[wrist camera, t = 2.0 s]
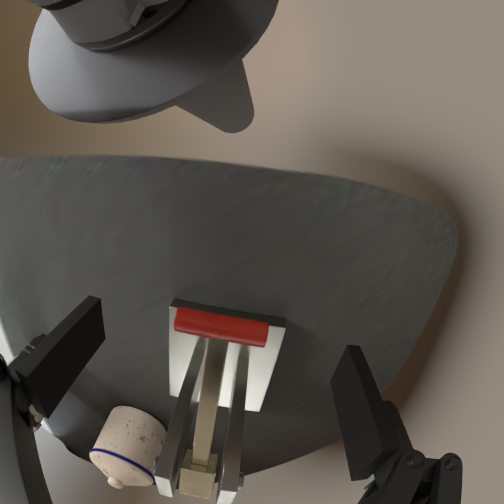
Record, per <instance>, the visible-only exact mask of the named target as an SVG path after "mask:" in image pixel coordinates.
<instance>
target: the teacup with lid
mask: <svg viewBox="0 0 504 504" xmlns="http://www.w3.org/2000/svg"><path fill="white" fill-rule="evenodd" d="M165 436H166V430H165V428H164V426H163V425H162V424H161V423H160V422H159V421H158V420H157V419H155V418H154V417H153V416H151V415H149V414H148V413H146V412H144V411H141V410H139V409H136V408H133V407H128V406H118V407H115V408H114V409H113V410H112V411H111V413H110V415H109V417H108V419H107V421H106V423H105V425H104V427H103V429H102V431H101V433H100V435H99V437H98V439H97V441H96V443H95V445H94V448H93V449H91V450H90V459H91V461H92V462H93V463H94V464H95V465H96V466H97V467H98V468H100V469H101V471H102V472H103V473H104V474H105V475H106V476H107V477H108V478H109V479H108V483H109V484H110V485H111V486H113V487H116V488H118V489H121V488H122V487H123V485H128V486H132V485H138V486H149V485H151V484H152V483H153V482H154V481H155V478H154V472H153V465H154V461H155V458H156V456H159V455H160V452H161V449H162V446H163V443H164V439H165Z"/></svg>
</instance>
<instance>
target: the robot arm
mask: <svg viewBox="0 0 504 504" xmlns="http://www.w3.org/2000/svg"><path fill="white" fill-rule="evenodd" d="M26 1H28V2H30V3H33V4H35V5H37V6H40V7H42V8H44V9H46V10H48V11H50V12H51V14H52V15H53V17H54V18H55V19H56V20H57V22H58V23H59V24H60V26H61V27H62V28H63V30H64V32H65V34H66V35H67V37H68V38H69V39H70V40H71V41H72V42H73V43H75V44H76V45H78V46H80V47H82V48H85V49H87V50H89V51H93V52H110V51H116V50H120V49H123V48H126V47H129V46H132V45H134V44H137V43H139V42H141V41H143V40H145V39H147V38H149V37H150V36H152V35H154V34H155V33H157V32H158V31H160V30H161V29H163V28H164V27H166V26H167V25H168V24H169V23H171V22H172V21H173V20H174V19H175V18H177V17H178V16H179V15H180V14H181V13H182V12H183V11H184V10H185V8H186V7H187V6H188V5H189V4H190V2H191V1H192V0H26ZM105 339H106V338H105V331H104V324H103V316H102V307H101V299H100V298H97V297H93V296H90V295H89V296H88V297H87V298H86V299H85V300H84V301H83V302H82V303H80V304H79V305H78V306H77V307H76V308H75V309H74V310H73V311H72V312H71V313H70V314H69V315H68V316H67V317H66V318H65V319H64V320H63V321H61V322H60V323H59V324H58V325H57V326H56V327H55V328H54V329H53V330H52V331H51V332H50V333H49V334H48V335H44V334H42V335H40V336H38V337H36V338H34V339H33V340H32V341H31V342H30V343H29V345H27V346H26V347H25V348H24V351H23V350H22V351H21V353H20V354H19V355H18V356H17V357H16V358H15V359H14V360H13V361H12V362H11V363H10V364H9V365H8V366H7V364H6V362H5V360H4V358H3V356H2V355H1V354H0V504H53V503H52V500H51V497H50V494H49V491H48V488H47V485H46V482H45V478H44V475H43V472H42V468H41V464H40V460H39V456H38V451H37V446H36V442H35V437H34V431H33V425H32V418H31V412H30V409H29V407H30V406H31V405H33V407H34V409H35V410H36V412H38V413H39V414H41V415H43V416H44V417H46V418H48V419H49V417H50V416H51V414H52V413H53V411H54V410H55V408H56V407H57V405H58V404H59V402H60V401H61V399H62V398H63V396H64V395H65V393H66V392H67V391H68V389H69V388H70V386H71V385H72V383H73V382H74V381H75V379H76V378H77V376H78V375H79V374H80V372H81V371H82V370H83V368H84V367H85V365H86V364H87V363H88V361H89V360H90V359H91V357H92V356H93V355H94V353H95V352H96V351H97V349H98V348H99V347H100V345H101V344H102V343H103V341H104V340H105ZM330 384H331V388H332V392H333V396H334V401H335V405H336V409H337V414H338V418H339V423H340V427H341V432H342V437H343V441H344V446H345V451H346V456H347V461H348V466H349V471H350V477H351V481H356V480H363V479H367V478H369V477H370V476H371V475H372V474H373V473H374V477H375V479H374V480H373V481H372V482H371V483H370V484H368V485H367V486H366V487H365V488H364V489H365V490H366V489H367V488H368V489H367V491H366V492H365V494H364V495H363V497H362V498H361V500H360V501H359V502H358V504H460V503H461V491H462V461H461V459H460V457H459V456H457V455H456V454H454V453H447V454H445V455H444V456H443V457H442V458H440V459H431V458H426V457H425V456H424V455H423V453H421V452H420V451H418V450H414V449H413V447H412V445H411V442H410V439H409V437H408V434H407V431H406V429H405V426H404V425H403V421H402V419H401V418H400V414H399V412H398V409H397V408H396V406H395V405H394V404H393V403H392V402H391V401H382V398H381V396H380V393H379V390H378V388H377V386H376V383H375V381H374V378H373V376H372V373H371V371H370V369H369V366H368V364H367V361H366V359H365V357H364V354H363V352H362V350H361V347H360V346H355V345H347V346H346V348H345V350H344V353H343V355H342V357H341V359H340V361H339V364H338V366H337V368H336V370H335V372H334V374H333V376H332V378H331V380H330Z"/></svg>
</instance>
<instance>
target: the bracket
mask: <svg viewBox="0 0 504 504" xmlns="http://www.w3.org/2000/svg"><path fill="white" fill-rule="evenodd" d="M179 306H182V307H187V308H192V309H197V310H202V311H207V312H212V313H217V314H222V315H228V316H233V317H239V318H244V319H250V320H256V321H262V322H268V324H269V331H268V337H267V342H266V345H265V347H264V348H261V347H254V346H248V345H242V344H236V343H230V342H229V345H228V351H227V356H226V362H225V368H224V374H223V380H222V386H221V391H220V397H219V403H218V406H223V407H229V412H228V420H227V427H226V434H225V441H224V448H223V455H222V462H221V469H220V476H219V484H218V491H217V498H216V504H232V502H233V500H234V497H235V496H236V494H237V492H238V489H242V487H243V482H244V472H239V471H240V459H241V448H242V437H243V426H244V414H245V410H249V411H257V412H260V409H261V406H262V403H263V400H264V397H265V394H266V391H267V388H268V385H269V382H270V379H271V376H272V373H273V370H274V367H275V364H276V360H277V357H278V354H279V351H280V347H281V344H282V341H283V338H284V334H285V331H286V322H285V319H283V318H276V317H270V316H264V315H258V314H252V313H246V312H240V311H234V310H229V309H224V308H218V307H213V306H208V305H203V304H198V303H193V302H188V301H183V300H179V299H174V300H173V302H172V303H171V305H170V307H169V386H170V395H171V396H175V397H178V399H177V402H176V405H175V408H174V411H173V414H172V417H171V421H170V424H169V427H168V430H167V433H166V436H165V439H164V443H163V446H162V449H161V452H160V455H159V456H156V458H155V461H154V465H153V472H154V478H155V481H156V484H157V487H158V490H159V493H160V494H161V495H165V496H169V497H174V492H175V488H176V484H177V480H178V476H179V472H180V468H181V463H182V459H183V455H184V451H185V447H186V443H187V439H188V435H189V431H190V427H191V423H192V419H193V415H194V411H195V408H196V404H197V402H199V398H200V391H201V384H202V377H203V370H204V364H205V357H206V351H207V344H208V338H204V337H199V336H195V335H190V334H185V333H181V332H176V331H175V330H174V318H175V314H176V311H177V308H178V307H179Z"/></svg>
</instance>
